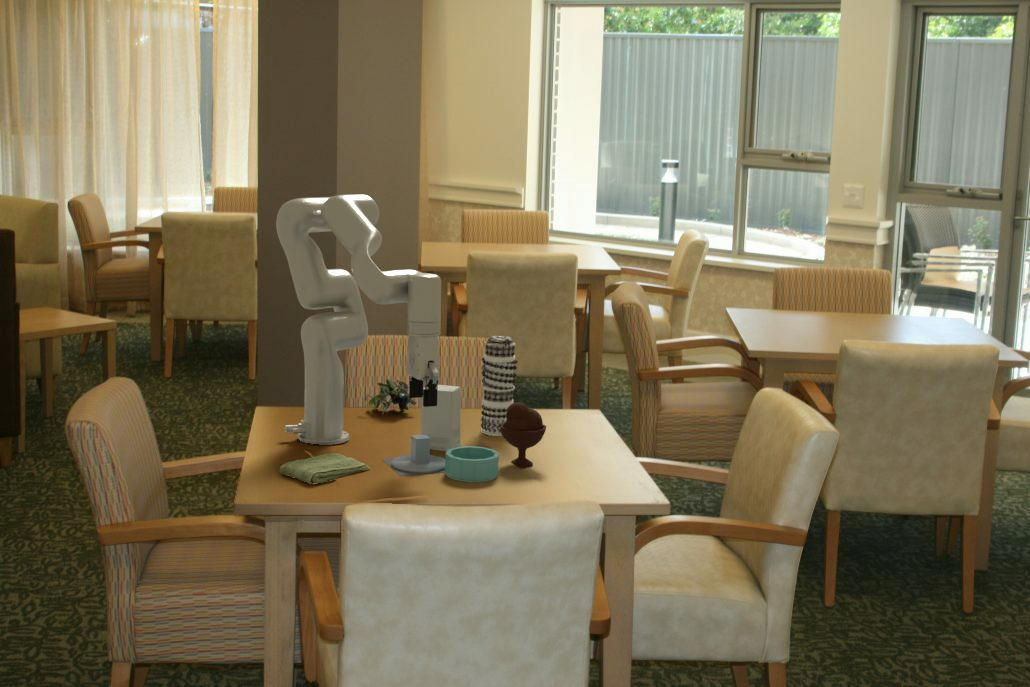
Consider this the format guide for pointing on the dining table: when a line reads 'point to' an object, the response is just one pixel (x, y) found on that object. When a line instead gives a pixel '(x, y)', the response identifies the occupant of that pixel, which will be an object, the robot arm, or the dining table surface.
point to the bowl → (471, 464)
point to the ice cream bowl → (522, 431)
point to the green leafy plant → (392, 395)
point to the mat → (402, 473)
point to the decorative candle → (497, 382)
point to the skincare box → (442, 419)
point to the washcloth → (323, 468)
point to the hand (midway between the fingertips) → (423, 401)
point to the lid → (419, 458)
